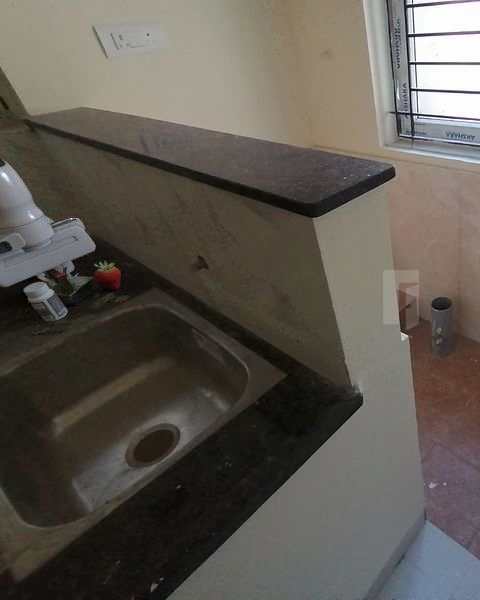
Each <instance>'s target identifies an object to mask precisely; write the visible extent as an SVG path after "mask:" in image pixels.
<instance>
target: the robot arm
mask: <svg viewBox="0 0 480 600" xmlns="http://www.w3.org/2000/svg"><path fill="white" fill-rule="evenodd" d="M45 216H46V215H45V213H44V212H43V211H42V210H41V208H39V207H38V206H37V205H36V203H35V202H34V198H33V195H32V193H31V191H30V190H29V188H28V186H27V185H26V183H25V182H24V181H23V179H22V178H21V176H20V175H19V174H18V172H17V171H16V170H15V169H14V168H13V167H12V166H11V165H10V164H9V163H8V162H7V161H5V160H4V159H2V158H0V287H1V288H8V287H11V286H14V285H16V284H17V283H21V282H23V281H26V280H27V279H30V278H32V277H36V278H37V279H40V280H41V281H43V282H45V283H46V284H48V285H49V286H50V287H54V286H56V285H59V284H58V283H57V281H56V280H55V279H54V278H52V277H51V278H48V277H46V275H45V274H44V272H45V271H47V270H49V269H52V268H54V267H57V266H59V265H61V266H63V272H62V274H64V275H65V276H66V278H67V279H68V280H70V279H72V276H73V275H71V272H70V267H71V265H70V263H69V261H74V260H76V259H78V258H81V257H83V256H86V255H88V254H91V253H93V252H95V250H96V244H95V242H94V241H93V239H92V238H91V237H90V235H89V234H88V233H87V232H86V226H85V225H84V223H83V221H82V220H81V219H80V218H77V217H71V216H67V217H65V218H63V219H60V220H55V221H54V222H53V223H49V222H48V220H47V218H46V217H45Z"/></svg>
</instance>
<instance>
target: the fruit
mask: <svg viewBox="0 0 480 600" xmlns="http://www.w3.org/2000/svg"><path fill="white" fill-rule="evenodd" d="M93 265H94V266H95V267H97V268H98V269H97V270H95V271H94V273H93V277H94V278H95V280H96V281H97V283H98V284H101V285H102V286H104V287H105V288H107V289H109V290H112V291H113V290H115V291H116V290H118V289H119V288H120V286H121V276H122V273H121V270H120V269H119V268H118V267H117V266H115V265H116V263H115V262H110V263H109V264H108V262H107V260H105V259H104V260H103V263H102V262H101V261H99V265H98V264H97V263H94V264H93Z"/></svg>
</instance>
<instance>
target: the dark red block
mask: <svg viewBox="0 0 480 600" xmlns="http://www.w3.org/2000/svg"><path fill="white" fill-rule="evenodd" d="M46 272H47V273H48V275H49V276H50V278H51V277H52V278H54V279H55V280H56V281H57V283H58V284H59V285H58V286H60V287H61V288H63V289H65V290H67V289H69V288H71V287H72V285H71V284H70V282H69V281H68V279H67V278H66V276H65V275H64V274H62V273H60V272H59V271H57V270H55V269H54V268H53V269H51V270H48V271H46Z"/></svg>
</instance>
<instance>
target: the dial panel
mask: <svg viewBox="0 0 480 600" xmlns="http://www.w3.org/2000/svg"><path fill="white" fill-rule="evenodd" d="M71 276H72V279H70V280H68V281H69V282H70V284H71V285H72V287H71V288H69V289H67V290H65V289H63V288H61V287H60V286H58V285H56V286H54V287H50V286H49V285H48V284H47V283H46V285H47V286H48V287H49V289H52V290H53V291H54V292H55V294H56V295H57V297H58V298H59V299H60V301H61V302H62V303H63V305H64V306H78V305H79V304H80V303H81V302H82V301H84V300H85V299H86V298H87V297H89V296H90V295H91V294H93V292H95V291H96V290H97V289H98V288H99V287H100V283H99V282H98V281H97V280H96V279H95V276H82V275H81V276H80V273H79V272H77V273H76V274H75V275H71Z"/></svg>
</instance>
